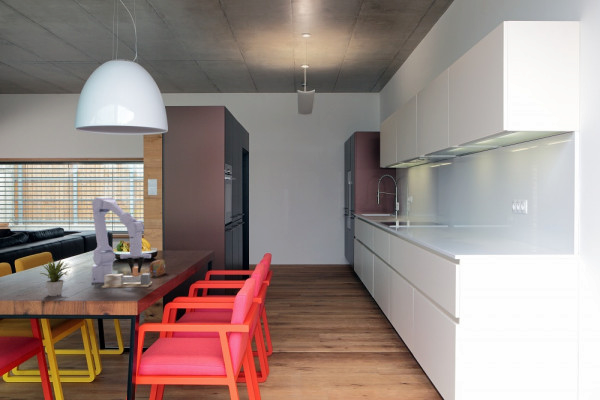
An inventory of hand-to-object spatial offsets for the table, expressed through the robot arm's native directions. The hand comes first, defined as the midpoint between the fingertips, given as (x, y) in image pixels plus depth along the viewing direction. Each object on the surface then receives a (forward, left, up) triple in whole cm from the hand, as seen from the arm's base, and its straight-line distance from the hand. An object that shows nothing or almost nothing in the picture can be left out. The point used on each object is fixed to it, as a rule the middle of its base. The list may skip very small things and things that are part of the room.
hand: (135, 272), depth 237 cm
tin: (+5, +30, -6) cm, 31 cm away
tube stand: (-4, 0, -6) cm, 7 cm away
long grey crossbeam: (-3, 0, -5) cm, 6 cm away
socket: (+5, 0, -6) cm, 8 cm away
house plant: (-31, -21, -6) cm, 38 cm away
